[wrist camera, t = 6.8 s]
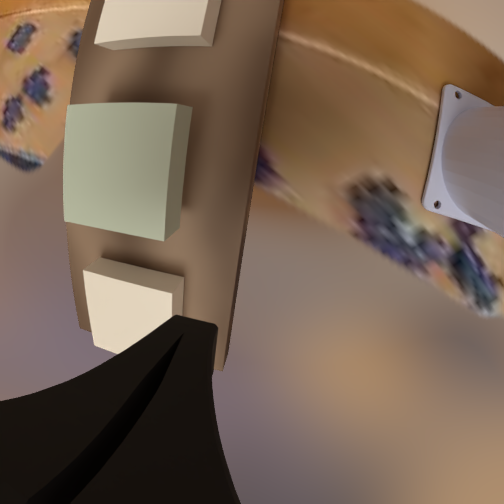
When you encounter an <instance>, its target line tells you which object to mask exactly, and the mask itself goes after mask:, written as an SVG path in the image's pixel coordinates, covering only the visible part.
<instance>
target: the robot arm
mask: <svg viewBox="0 0 504 504" xmlns="http://www.w3.org/2000/svg"><path fill="white" fill-rule="evenodd" d="M455 92H457V93H458V95H459V98H458V99H457V98H456V96H455ZM435 201H438V206H437V207H434V203H435ZM422 206H423V207H424V208H425V209H427V210H428V211H432V212H435V213H438V214H442V215H445V216H448V217H451V218H455V219H458V220H461V221H464V222H467V223H470V224H473V225H476V226H479V227H482V228H485V229H488V230H490V231H493V232H495V233H497V234H499V235H500V236H502V237H503V238H504V106H493V105H492V104H490V103H488V102H486V101H484V100H482V99H481V98H479V97H477V96H475V95H473V94H471V93H469V92H467V91H465V90H463V89H460V88H458V87H456V86H454V85H452V84H448V85H445V86H444V87H443V89H442V97H441V105H440V112H439V119H438V126H437V132H436V137H435V143H434V148H433V153H432V158H431V163H430V168H429V172H428V177H427V181H426V185H425V189H424V193H423V197H422ZM217 336H218V327H217V325H216V324H214V323H210V322H205V321H201V320H197V319H193V318H189V317H184V316H180V315H174V316H172V317H171V318H170V319H168V320H167V321H165V322H164V323H163V324H161V325H160V326H159V327H157V328H156V329H155V330H153V331H152V332H150V333H149V334H148V335H146V336H145V337H143V338H142V339H140V340H139V341H137V342H136V343H134V344H133V345H132V346H130V347H129V348H127V349H126V350H124V351H122V352H121V353H119V354H118V355H116V356H114V357H113V358H111V359H109V360H107V361H106V362H104V363H102V364H101V365H99V366H97V367H95V368H93V369H91V370H90V371H88V372H86V373H84V374H82V375H79V376H77V377H75V378H73V379H71V380H69V381H66V382H64V383H61V384H58V385H55V386H53V387H50V388H47V389H44V390H42V391H39V392H36V393H32V394H29V395H25V396H21V397H18V398H13V399H9V400H4V401H0V504H241V503H240V500H239V498H238V495H237V493H236V490H235V488H234V485H233V482H232V479H231V475H230V472H229V469H228V466H227V463H226V459H225V456H224V452H223V448H222V444H221V440H220V436H219V431H218V426H217V421H216V415H215V408H214V400H213V390H212V375H213V370H214V362H215V353H216V344H217Z"/></svg>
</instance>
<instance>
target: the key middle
mask: <svg viewBox="0 0 504 504" xmlns="http://www.w3.org/2000/svg"><path fill="white" fill-rule="evenodd" d="M192 109H193V107H189V106H185V105H181V104H173V103H91V104H75V105H68V106H67V115H66V126H65V140H64V164H63V202H64V221H66V222H71V223H76V224H81V225H86V226H90V227H95V228H100V229H105V230H110V231H115V232H120V233H125V234H130V235H135V236H140V237H144V238H149V239H154V240H159V241H165V240H166V239H167V238H169V237H170V236H171V235H172V234H173V233H174V232H176V231H177V230H178V229H179V228H180V216H181V204H182V193H183V182H184V173H185V163H186V155H187V146H188V138H189V130H190V123H191V116H192Z"/></svg>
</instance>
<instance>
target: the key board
mask: <svg viewBox="0 0 504 504" xmlns="http://www.w3.org/2000/svg"><path fill="white" fill-rule="evenodd" d="M104 3H105V0H91V2H90V6H89V9H88V13H87V16H86V20H85V24H84V28H83V32H82V36H81V41H80V45H79V50H78V55H77V60H76V65H75V71H74V77H73V84H72V91H71V98H70V105H75V104H91V103H173V104H181V105H185V106H189V107H193V109H192V116H191V123H190V130H189V138H188V146H187V155H186V163H185V173H184V182H183V193H182V204H181V216H180V228H179V229H178V230H177V231H176V232H174V233H173V234H172V235H171V236H170V237H169V238H167V239H166V240H165V241H159V240H154V239H149V238H144V237H140V236H135V235H130V234H125V233H120V232H115V231H110V230H105V229H100V228H95V227H90V226H86V225H81V224H76V223H71V222H66V226H67V240H68V251H69V261H70V270H71V278H72V285H73V292H74V298H75V304H76V310H77V316H78V321H79V326H80V328H81V329H84V330H87V331H89V332H92V330H91V324H90V318H89V312H88V306H87V299H86V292H85V284H84V275H83V270H84V269H85V268H86V267H88V266H89V265H90V264H92V263H93V262H94V261H96V260H97V259H98V258H100V257H101V258H105V259H109V260H113V261H117V262H121V263H125V264H130V265H134V266H138V267H142V268H146V269H151V270H155V271H159V272H163V273H168V274H172V275H177V276H181V277H184V292H183V315H182V316H184V317H189V318H193V319H197V320H201V321H205V322H210V323H214V324H216V325H217V327H218V336H217V344H216V353H215V362H214V369H215V370H219V371H223V368H224V365H225V362H226V358H227V355H228V350H229V343H230V336H231V330H232V323H233V316H234V309H235V303H236V296H237V289H238V282H239V276H240V269H241V263H242V256H243V249H244V243H245V237H246V230H247V224H248V217H249V211H250V205H251V198H252V192H253V186H254V179H255V173H256V167H257V160H258V154H259V148H260V142H261V135H262V129H263V123H264V117H265V111H266V105H267V99H268V93H269V87H270V81H271V75H272V69H273V63H274V57H275V51H276V45H277V39H278V33H279V27H280V21H281V16H282V10H283V4H284V0H221V5H220V9H219V14H218V19H217V24H216V28H215V33H214V38H213V44H212V47H211V46H164V47H145V48H132V49H121V50H111V49H108V48H105V47H102V46H99V45H96V44H94V42H95V37H96V33H97V29H98V25H99V21H100V17H101V13H102V10H103V6H104Z"/></svg>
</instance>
